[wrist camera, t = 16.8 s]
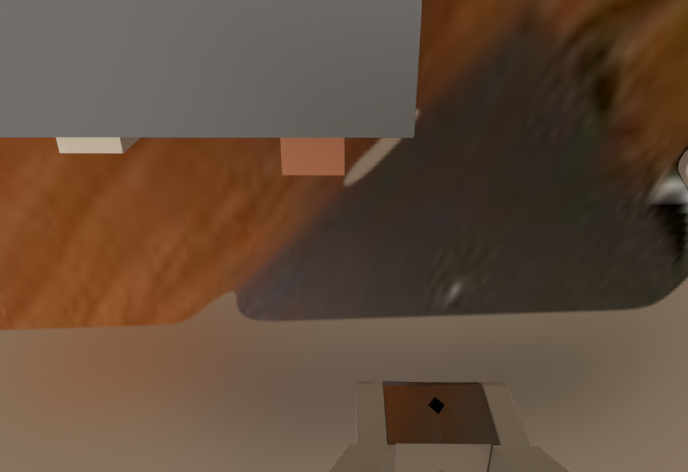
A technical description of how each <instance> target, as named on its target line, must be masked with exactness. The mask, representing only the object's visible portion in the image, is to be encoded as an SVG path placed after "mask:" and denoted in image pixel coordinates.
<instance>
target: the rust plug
mask: <svg viewBox="0 0 688 472" xmlns="http://www.w3.org/2000/svg"><path fill="white" fill-rule="evenodd" d="M280 144H281V161H282V175H344V173H345V138H280Z"/></svg>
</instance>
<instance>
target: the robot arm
mask: <svg viewBox="0 0 688 472" xmlns="http://www.w3.org/2000/svg"><path fill="white" fill-rule="evenodd" d="M678 171H679V173H680V175H681V177H682V179H683V181H684V182H685V184H686V186H687V188H688V149H687V151H686V152H685V153H684V155H683V156H682V158H681V159H680V161H679V164H678ZM329 472H569V471H568V470H567V469H565V468H564V467H563V466H562V465H561V464H559V463H558V462H557V461H556V460H554V459H553V458H552V457H551V456H550V455H549V454H547V453H546V452H545V451H544V450H543V449H541V448H540V447H539V446H530V443H529V440H528V437H527V435H526V432H525V430H524V427H523V424H522V422H521V419H520V416H519V413H518V411H517V408H516V405H515V403H514V400H513V397H512V395H511V392H510V389H509V386H508V385H507V384H506V383H505V382H480V383H478V382H430V383H429V382H396V381H383V382H378V381H358V382H357V417H356V444H353V445H352V444H351V445H350V446H349V447H348V448H347V450H346V451H345V452H344V453H343V455H342V456H341V457H340V458H339V460H338V461H337V462H336V464H335V465H334V466H333V468H332V469H331V470H330V471H329Z"/></svg>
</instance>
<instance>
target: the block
mask: <svg viewBox="0 0 688 472" xmlns="http://www.w3.org/2000/svg"><path fill="white" fill-rule="evenodd" d="M421 13H422V0H0V137H183V138H414V128H415V112H416V95H417V79H418V63H419V46H420V30H421Z"/></svg>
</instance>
